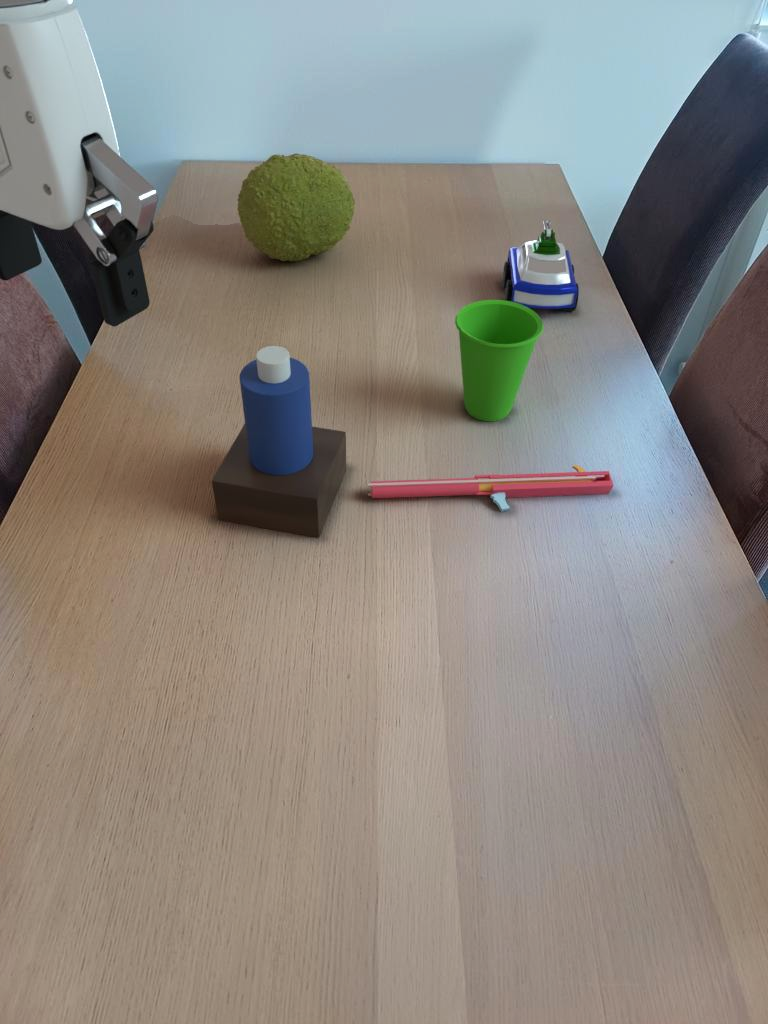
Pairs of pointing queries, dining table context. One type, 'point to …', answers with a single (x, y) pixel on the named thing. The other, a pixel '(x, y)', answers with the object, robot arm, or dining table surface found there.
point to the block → (281, 487)
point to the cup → (495, 354)
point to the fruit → (295, 206)
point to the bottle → (277, 412)
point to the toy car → (541, 274)
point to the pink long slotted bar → (499, 486)
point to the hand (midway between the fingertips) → (72, 292)
